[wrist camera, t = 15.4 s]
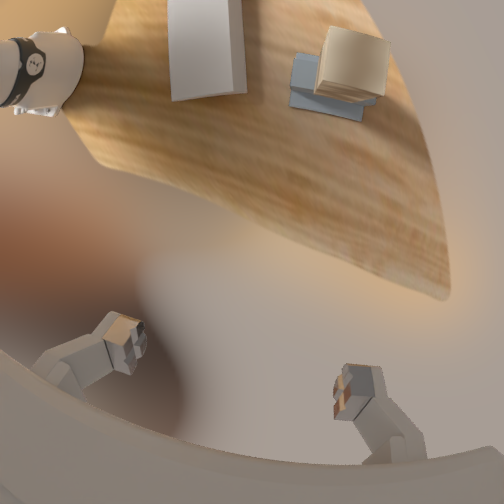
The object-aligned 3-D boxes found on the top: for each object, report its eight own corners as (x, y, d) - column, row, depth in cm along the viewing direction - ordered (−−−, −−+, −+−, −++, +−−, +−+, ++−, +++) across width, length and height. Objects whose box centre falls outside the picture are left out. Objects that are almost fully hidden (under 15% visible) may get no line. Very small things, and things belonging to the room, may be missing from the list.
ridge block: (289, 106, 35) (287, 103, 29) (296, 53, 31) (296, 41, 25) (359, 121, 34) (372, 122, 28) (368, 69, 31) (381, 61, 24)
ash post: (313, 94, 28) (322, 79, 16) (318, 59, 26) (330, 25, 14) (351, 103, 28) (384, 95, 16) (357, 67, 25) (390, 42, 14)
